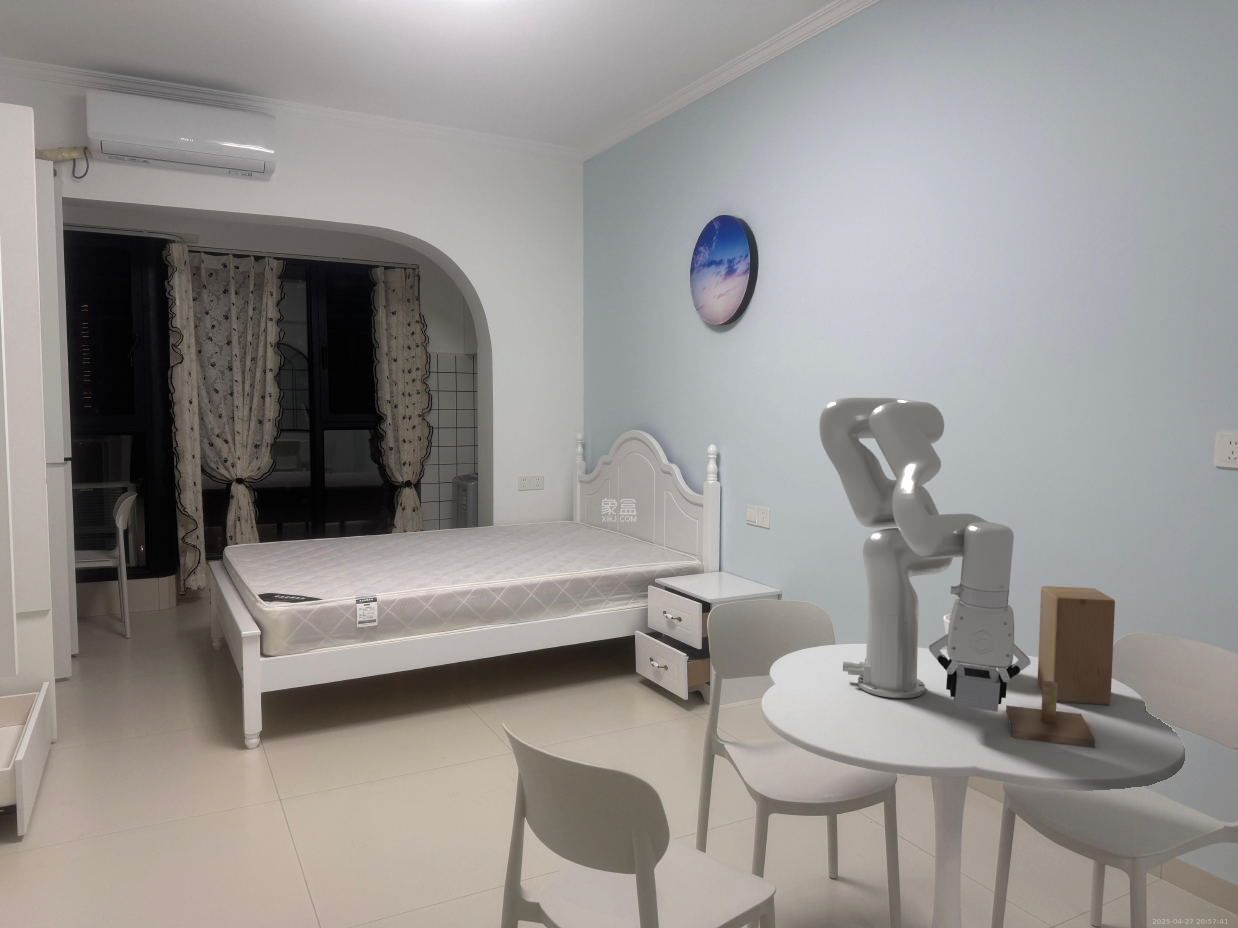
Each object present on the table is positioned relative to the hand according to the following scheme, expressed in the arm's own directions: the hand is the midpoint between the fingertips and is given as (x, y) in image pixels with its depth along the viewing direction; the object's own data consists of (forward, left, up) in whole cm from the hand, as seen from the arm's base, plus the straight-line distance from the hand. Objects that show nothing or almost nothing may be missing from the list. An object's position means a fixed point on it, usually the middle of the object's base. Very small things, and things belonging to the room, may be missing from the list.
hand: (975, 696), depth 139 cm
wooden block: (+19, +25, -6) cm, 32 cm away
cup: (+2, +33, -6) cm, 33 cm away
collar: (0, 0, -1) cm, 1 cm away
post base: (+12, +5, -6) cm, 14 cm away
